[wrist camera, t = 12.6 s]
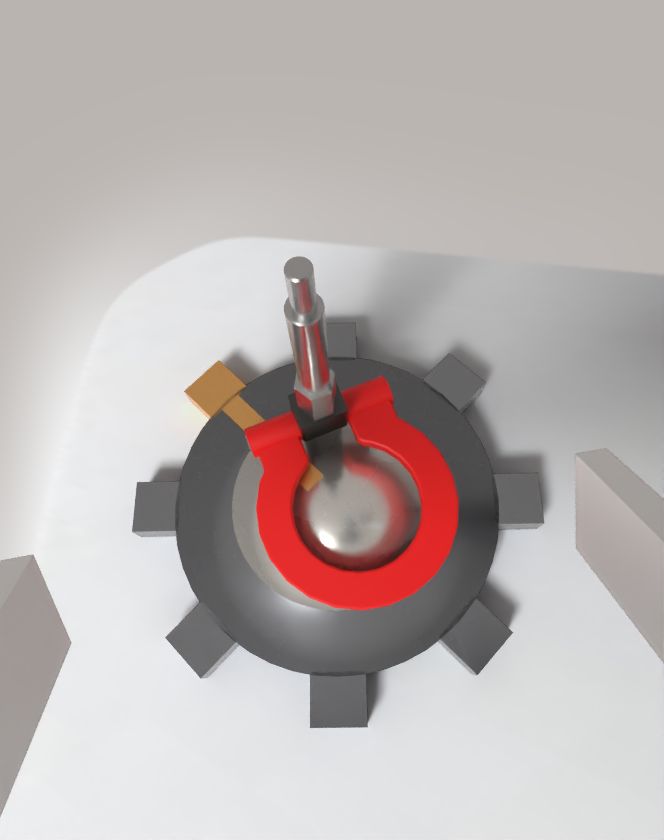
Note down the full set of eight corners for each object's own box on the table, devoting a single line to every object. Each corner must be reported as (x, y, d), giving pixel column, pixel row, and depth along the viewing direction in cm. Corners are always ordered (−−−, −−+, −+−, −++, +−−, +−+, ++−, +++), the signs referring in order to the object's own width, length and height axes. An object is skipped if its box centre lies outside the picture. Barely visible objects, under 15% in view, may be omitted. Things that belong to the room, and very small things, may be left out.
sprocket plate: (511, 329, 31) (517, 316, 30) (561, 722, 25) (571, 725, 24) (159, 340, 32) (151, 328, 31) (123, 726, 25) (111, 729, 24)
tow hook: (488, 563, 26) (398, 374, 29) (609, 509, 14) (434, 190, 17) (301, 642, 26) (227, 440, 28) (256, 659, 13) (134, 298, 16)
